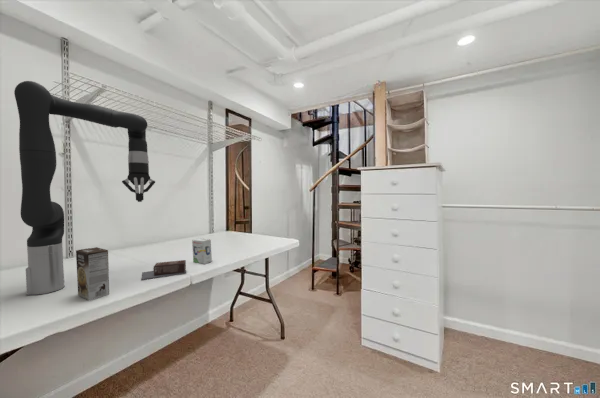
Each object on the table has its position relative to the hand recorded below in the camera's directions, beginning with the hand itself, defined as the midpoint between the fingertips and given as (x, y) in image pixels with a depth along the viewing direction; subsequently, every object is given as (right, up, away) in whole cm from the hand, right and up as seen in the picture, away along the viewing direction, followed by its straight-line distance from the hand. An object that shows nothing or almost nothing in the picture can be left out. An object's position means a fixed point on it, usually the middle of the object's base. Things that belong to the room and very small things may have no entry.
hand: (139, 201), depth 112 cm
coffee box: (-2, -33, -22) cm, 40 cm away
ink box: (+21, -31, +18) cm, 42 cm away
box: (+8, -29, -2) cm, 30 cm away
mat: (+11, -32, 0) cm, 34 cm away
